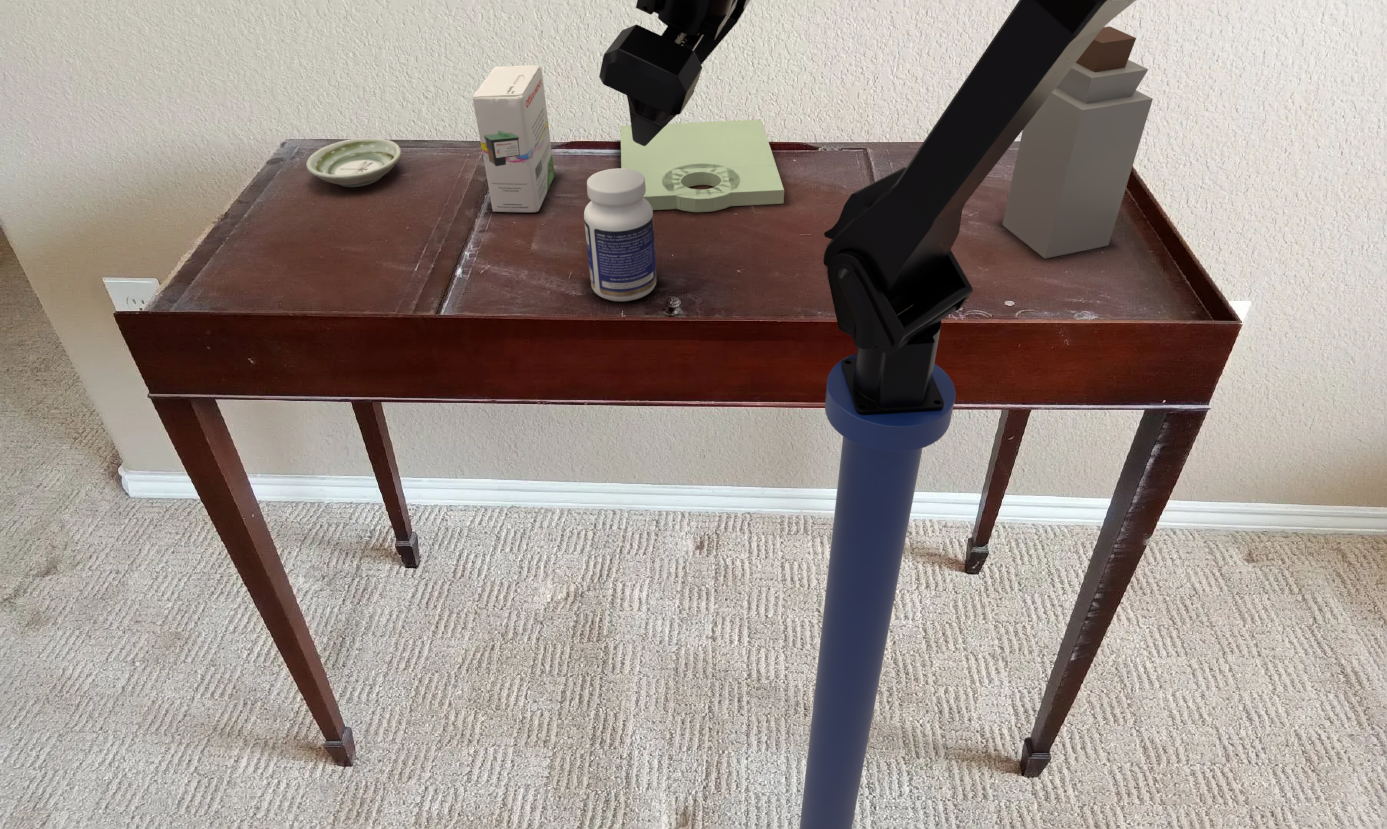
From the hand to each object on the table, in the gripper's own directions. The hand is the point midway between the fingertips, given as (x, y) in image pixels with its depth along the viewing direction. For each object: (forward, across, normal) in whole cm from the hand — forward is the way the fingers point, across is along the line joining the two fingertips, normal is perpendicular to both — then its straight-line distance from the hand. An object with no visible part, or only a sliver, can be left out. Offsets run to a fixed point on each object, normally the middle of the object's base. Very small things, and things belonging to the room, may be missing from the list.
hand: (660, 110), depth 75 cm
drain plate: (+17, -16, +2) cm, 23 cm away
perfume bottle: (+4, -12, +36) cm, 39 cm away
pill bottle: (+12, +8, +3) cm, 15 cm away
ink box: (+21, -5, -12) cm, 24 cm away
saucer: (+27, -3, -30) cm, 40 cm away
